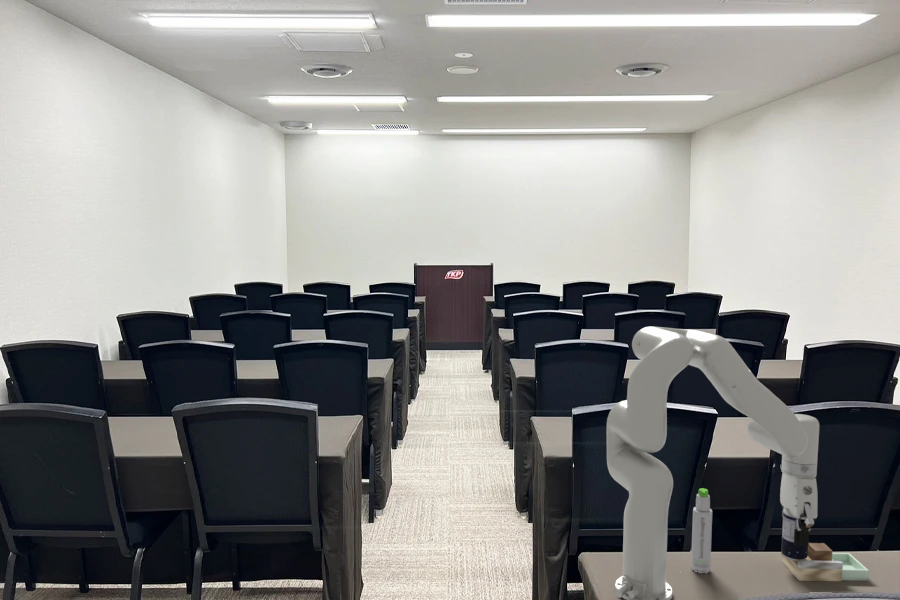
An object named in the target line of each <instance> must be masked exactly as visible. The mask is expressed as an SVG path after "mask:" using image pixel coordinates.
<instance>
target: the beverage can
mask: <svg viewBox="0 0 900 600" xmlns="http://www.w3.org/2000/svg"><path fill="white" fill-rule="evenodd" d="M782 512H783V511H782ZM800 517H805V515H804V514H800ZM802 522H805V520H800V525H801V524H802ZM782 523H783V530H782V529H781V533H782V534H781V535H782V536H781V547H780V548H781V552H782V554H783V555H784V556H785V557H786V558H787V559H789V560H792V561H798V560H804V559H806V558H807V556H808V546H807V547H799V546H795V545H794V531H795V529H796V519H795V517H794V516H793V515H792V514H791V513H790V511H789V510H787V509H785V511H784V512H783V516H782Z"/></svg>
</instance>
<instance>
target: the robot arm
mask: <svg viewBox="0 0 900 600" xmlns="http://www.w3.org/2000/svg"><path fill="white" fill-rule="evenodd" d="M631 347H632V351H633V354H634V355H635V357H637V358H638V359H639V360H640V361H639V362H638V364H637V365H636V366H635V368H634V369H633V370H632V372H631V374H630V375H629V378H628V383H627V392H626V393H627V395H626V399H625V400H621V401H619V402H617V403H615V404H614V405H613V407H612V408H611V410H610V411H609V413H608V416H607V418H606V465H607V470H608V472H609V474H610V476H611V477H612V478H613V480H614V481H615V482H616V483H618V484H619V485H620V486H622V487H623V488H624V489H625V490H627V492H628V499H627V502H626V504H625V506H624V507H625V508H624V510H623V511H624V512H623V533H622V535H623V538H622V539H623V541H622V542H623V544H622V573H621V574H622V575H621V576H620V577H618V578H617V579H616V580H615V583H614V586H615V587H614V588H615V589H614V595H615V596H616V597H617V598H618V599H619V598H623V600H672V598H673V594H674V592H673V588H672V586H671V585H670V584H669V583H668V582H667V555H668V552H667V551H668V520H669V519H668V517H669V507H670V502H671V496H672V493H673V488H674V479H673V475H672V473H671V470H670V469H669V468H668V466H667V465H666V464H665V463H664V462H662V461H661V460H660V459H658V458H656V457H655V456H653V455H652V454H653V453H657V452H659V451H660V450H662V448H664V446H665V443H666V440H667V436H668V435H667V434H668V432H667V431H668V424H667V423H668V421H667V420H668V417H667V415H668V413H667V409H668V407H667V406H668V405H667V403H668V401H667V400H668V391H669V387H670V385H671V383H672V381H673V380H674V378H675V377H676V376H677V375H678V374H680V372H682V371H683V370H684V369H685V368H687V367H688V366H691V367H694V368H697V369H699V370H700V371H701V372H702V373H703V374H704V375H705V377H706V378H707V379H708V381H710V383H711V384H712V386H713V387H714V388H715V390H716V391H717V392H718V394H719V395H720V396H721V398H722V399H723V400H724V401H725V402H726V403H727V404H728V405H730V406H731V407H732V408H734V409H735V410H737V411H738V412H739V413H741V414H743V415H745V416H747V417H748V418H749V419H751V420H750V421H749V423H748V424H747V434H748V436H749V437H750V439H751V440H752V441H753V442H755V443H756V444H757V445H760V446H762V447H764V448H767V449H769V450H772V451H774V452H776V453H778V454H780V455H781V467H780V468H781V469H780V470H781V471H780V472H782V474H781V482H780V490H779V491H780V492H779V497H780V498H779V501H780V504H781V508H782V513H781V516H782V517H783V512H784V511H785V509H787V510H789V511H790V513H791V514H792V515H793V516H794V517H795V519H796V529H795V531H794V545H795V546H799V547H807V546H808V545H809V543H810V542H809V541H810V532H811V528H812V527H813V526H814V525H815V520H816V519H817V517H818V484H817V474H818V473H817V472H818V471H817V470H818V453H819V442H820V441H819V439H820V438H819V436H820V422H819V420H818V418H816V417H814V416H811V415H808V414H802V413H794V412H793V411H792V409H791V408H789V406H787V404H786V403H784V402H783V401H782V400H781V399H780V398H779V397H778V396H776V394H774V393H773V392H772V391H771V390H770V389H769V388H767V387H766V386H765V385H764V384H763V383H762V382H760V381H759V379H757V378H756V376H755V375H754V374H753V372H752V371H751V370H750V368H749V367H748V366H747V364H746V363H745V362H744V360H743V359H742V357H741V356H740V355H739V353H738V351H736V349H735V348H734V347H733V345H732V344H731V343H730V342H729V341H728V340H727V339H726V338H724V337H723V336H721V335H717V334H714V333H711V332H705V331H702V330H697V329H683V328H673V327H662V326H645V327H643V328H642V327H641V329H640V330H638V331H637V332H636V333H635V334H634V335H633V338H632V341H631ZM800 514H804V515H805V517H800ZM800 520H805V522H802V524H801V525H800ZM781 525H782V527H781V531H782V530H783V522H782V524H781Z"/></svg>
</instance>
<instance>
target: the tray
mask: <svg viewBox="0 0 900 600" xmlns="http://www.w3.org/2000/svg"><path fill="white" fill-rule="evenodd" d="M832 560H833V561H841V562H842V563H843V568H842V581H863V582H864V581H869V579H870V578H869V576H870V570H869V569H868V567H866V566H864V565H863V563H861V562H860V561H859V560H858V559H856V558H855V556H853V554H851V553H850V552H832Z"/></svg>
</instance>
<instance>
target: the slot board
mask: <svg viewBox="0 0 900 600" xmlns="http://www.w3.org/2000/svg"><path fill="white" fill-rule="evenodd" d="M780 561H781V562H782V563H783V565H784V566H785V567H786V568H787V569H788V570H789V571H790V572H791V573H792V574H793V576H794V577H796V579H797V580H798V581H799V582H800V581H801V582H802V581H803V582H804V581H805V582H811V581H812V582H842V581H843V580H842V568H843V563H842V562H841V561H833V560H832V561H812V560H811V559H810V558H809V557H808V556H807V558H806V559H804V560H798V561H792V560H789V559H787V558H786V557H785V556H784V555H783V554H782V552H781V553H780Z"/></svg>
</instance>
